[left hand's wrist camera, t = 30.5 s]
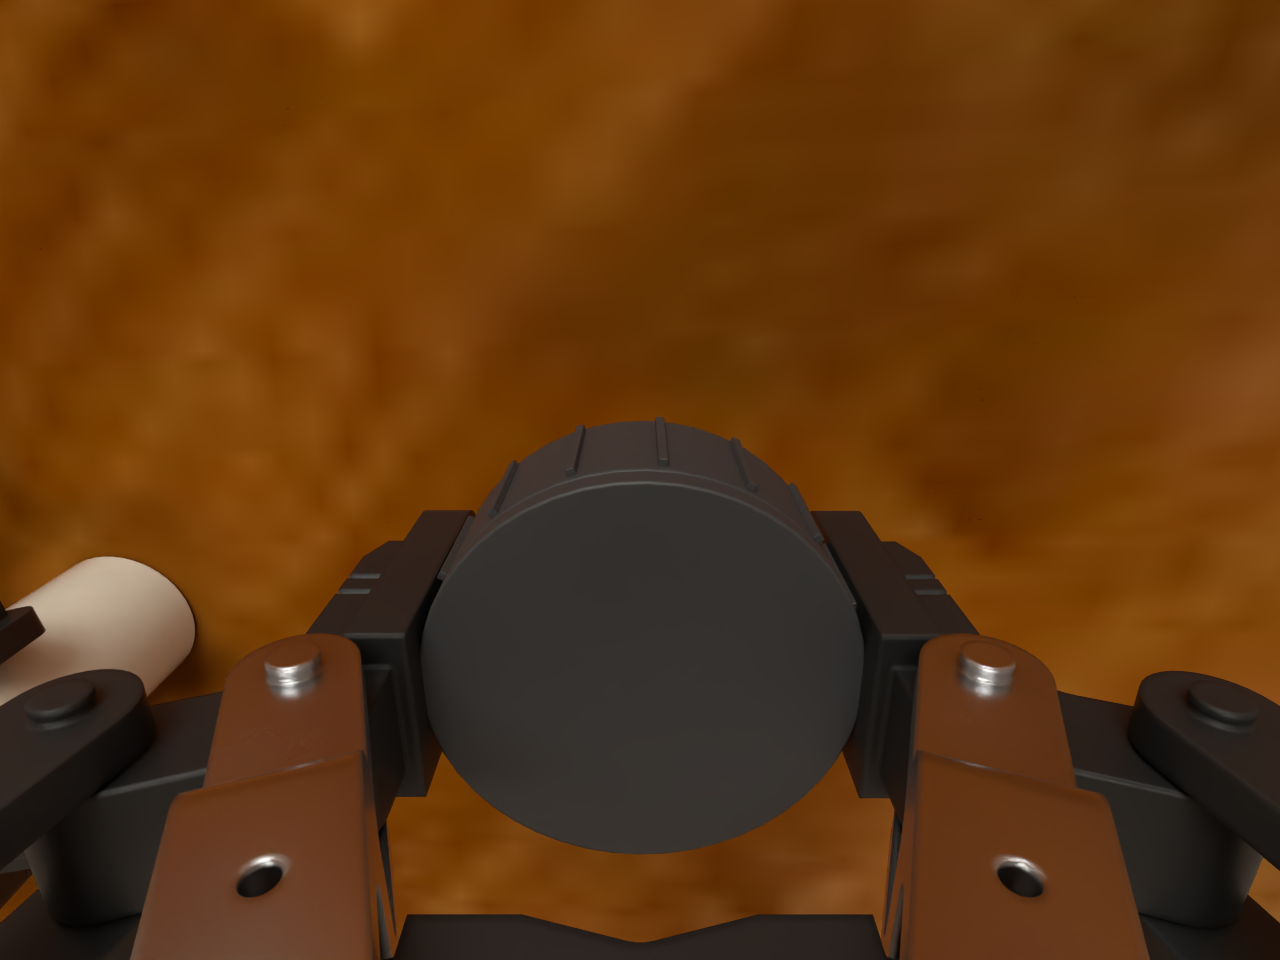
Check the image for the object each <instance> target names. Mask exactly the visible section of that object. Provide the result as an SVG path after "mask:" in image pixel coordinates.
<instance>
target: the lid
mask: <svg viewBox="0 0 1280 960" xmlns="http://www.w3.org/2000/svg"><path fill="white" fill-rule="evenodd" d="M823 540H824V538H823V536H822V534H821V532H820V530H819V528H818V526H817V525H816V523H815V521H814V519H813V517H812V515H811V513H810V511H809V509H808V507H807V505H806V504H805V502H804V500H803V498H802V496H801V494H800V492H799V490H798V488H797V487H796V486H795V484H794V483H791V484H790V485H787V484H786V483H785V482H784V480H783V479H782V478H781V477H780V476H779V475H778V474H777V473H775V472H774V471H773V470H772V469H771V468H770V467H769V466H768V465H767V464H766V463H764V462H763V461H762V460H760V459H759V458H757V457H756V456H754V455H753V454H751V453H750V452H749V451H747V450H746V449H744V448H742V445H741V442H740V440H738V439H736V438H734V437H733V438H732V439H731V441H728V440H726V439H724V438H722V437H720V436H717V435H714V434H712V433H709V432H706V431H703V430H700V429H697V428H693V427H688V426H683V425H678V424H674V423H664V418H663V417H656V419H655V422H652V421H635V422H618V423H612V424H606V425H601V426H595V427H591V428H588V429H585V427H584V425H581V426H577V427H576V430H575V433H572V434H569V435H567V436H565V437H562V438H560V439H558V440H556V441H554V442H551V443H549V444H547V445H545V446H544V447H542V448H541V449H539V450H537V451H536V452H534V453H533V454H531V455H529V456H528V457H526V458H525V459H524V460H523V461H521V462H520V463H519V464H518V463H517V462H516V461H515V460H514V461H513V462H511V463H510V464H509V466H508V468H507V470H506V472H505V474H504V477H503V479H502V480H501V481H500V482H499V483H498V484H497V485H496V486H495V487H494V489H493V490H492V491H491V492H490V494H489V495H488V497H487V498H486V500H485V501H484V503H483V504H482V506H481V507H480V509H479V511H478V513H477V515H476V517H475V518H474V517H472V516H468V518H467V520H466V522H465V524H464V526H463V528H462V530H461V532H460V534H459V536H458V538H457V539H456V541H455V543H454V545H453V547H452V549H451V551H450V553H449V555H448V557H447V559H446V561H445V563H444V564H443V566H442V568H441V570H440V572H439V574H438V576H437V578H438V579H440V580H442V581H443V583H442V585H441V587H440V589H439V591H438V593H437V595H436V597H435V599H434V601H433V603H432V606H431V608H430V610H429V613H428V617H427V620H426V623H425V627H424V630H423V633H422V640H421V648H420V657H421V667H422V675H423V683H424V691H425V699H426V707H427V713H428V720H429V723H430V726H431V729H432V732H433V734H434V735H435V737H436V739H437V741H438V743H439V745H440V747H441V749H442V751H443V753H444V754H445V756H446V757H447V758H448V760H449V761H450V763H451V764H452V766H453V767H454V768H455V770H456V771H457V773H458V774H459V775H460V776H461V777H462V778H463V779H464V780H465V781H466V782H467V783H468V785H469V786H470V787H471V788H472V789H473V790H474V791H475V792H476V793H477V794H479V795H480V796H481V797H482V798H483V799H485V800H486V801H487V802H488V803H489V804H490V805H492V806H493V807H494V808H496V809H497V810H499V811H500V812H502V813H503V814H505V815H506V816H508V817H509V818H511V819H512V820H514V821H516V822H518V823H520V824H522V825H524V826H525V827H527V828H529V829H531V830H533V831H535V832H537V833H540V834H542V835H545V836H548V837H550V838H553V839H556V840H558V841H561V842H564V843H568V844H572V845H575V846H579V847H583V848H587V849H593V850H599V851H605V852H611V853H625V854H662V853H671V852H679V851H686V850H692V849H696V848H701V847H705V846H709V845H713V844H717V843H720V842H723V841H726V840H728V839H731V838H734V837H737V836H740V835H742V834H744V833H746V832H748V831H751V830H753V829H755V828H757V827H759V826H761V825H763V824H765V823H767V822H768V821H770V820H771V819H773V818H775V817H776V816H778V815H780V814H781V813H783V812H785V811H786V810H787V809H788V808H790V807H791V806H792V805H794V804H795V803H796V802H797V801H799V800H800V799H801V798H803V797H804V796H805V795H806V794H807V793H808V792H809V791H810V790H811V789H812V788H813V787H814V786H815V785H816V784H817V783H818V782H819V781H820V780H821V779H822V778H823V777H824V775H825V774H826V773H827V771H828V770H829V769H830V767H831V766H832V765H833V764H834V762H835V761H836V760H837V758H838V756H839V755H840V753H841V751H842V750H843V748H844V746H845V744H846V743H847V741H848V739H849V737H850V735H851V732H852V730H853V727H854V725H855V722H856V718H857V712H858V705H859V697H860V689H861V682H862V674H863V665H864V656H865V650H864V640H863V635H862V631H861V627H860V623H859V619H858V616H857V613H856V607H857V603H856V601H855V599H854V597H853V595H852V593H851V591H850V589H849V587H848V585H847V583H846V582H845V580H844V578H843V576H842V574H841V572H840V570H839V568H838V566H837V564H836V562H835V560H834V558H833V557H832V555H831V553H830V551H829V549H828V547H827V545H826V543H824V544H823V543H822V541H823Z"/></svg>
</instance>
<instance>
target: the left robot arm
mask: <svg viewBox="0 0 1280 960" xmlns="http://www.w3.org/2000/svg"><path fill="white" fill-rule="evenodd" d="M810 513H811V515H812V517H813V519H814V521H815V523H816V525H817V526H818V528H819V530H820V532H821V534H822V536H823V538H824V540H823V541H822V543H823V544H824V543H826V545H827V547H828V549H829V551H830V553H831V555H832V557H833V558H834V560H835V562H836V564H837V566H838V568H839V570H840V572H841V574H842V576H843V578H844V580H845V582H846V583H847V585H848V587H849V589H850V591H851V593H852V595H853V597H854V599H855V601H856V603H857V607H856V613H857V616H858V619H859V623H860V627H861V631H862V635H863V640H864V650H865V656H864V665H863V674H862V682H861V689H860V697H859V705H858V712H857V718H856V722H855V725H854V727H853V730H852V732H851V735H850V737H849V739H848V741H847V743H846V744H845V746H844V748H843V750H842V751H843V754H844V757H845V760H846V762H847V765H848V768H849V771H850V774H851V776H852V779H853V782H854V785H855V787H856V790H857V793H858V796H859V798H890V800H891V802H892V804H893V807H894V809H895V811H894V817H893V823H892V830H891V836H890V845H889V856H888V867H887V878H886V888H885V899H884V910H883V921H882V932H881V939H880V936H879V933H878V929H877V926H876V923H875V920H874V917H873V915H754V916H751V917H747V918H743V919H739V920H735V921H731V922H727V923H723V924H719V925H715V926H711V927H707V928H703V929H699V930H695V931H691V932H687V933H683V934H679V935H675V936H671V937H667V938H663V939H659V940H655V941H651V942H645V943H635V942H629V941H625V940H621V939H617V938H613V937H609V936H605V935H601V934H597V933H593V932H589V931H585V930H581V929H577V928H573V927H569V926H565V925H561V924H557V923H553V922H549V921H545V920H541V919H537V918H533V917H529V916H526V915H407V917H406V920H405V923H404V926H403V929H402V933H401V936H400V939H399V932H398V921H397V910H396V899H395V888H394V878H393V867H392V856H391V845H390V836H389V830H388V823H387V817H388V815H389V812H390V810H391V807H392V805H393V802H394V800H395V797H426V795H427V792H428V790H429V787H430V784H431V781H432V778H433V775H434V772H435V770H436V767H437V764H438V761H439V758H440V755H441V753H442V749H441V747H440V745H439V743H438V741H437V739H436V737H435V735H434V734H433V732H432V729H431V726H430V723H429V720H428V713H427V707H426V699H425V691H424V683H423V675H422V667H421V657H420V648H421V640H422V633H423V630H424V627H425V623H426V620H427V617H428V613H429V610H430V608H431V606H432V603H433V601H434V599H435V597H436V595H437V593H438V591H439V589H440V587H441V585H442V583H443V581H442V580H440V579H438V578H437V576H438V574H439V572H440V570H441V568H442V566H443V564H444V563H445V561H446V559H447V557H448V555H449V553H450V551H451V549H452V547H453V545H454V543H455V541H456V539H457V538H458V536H459V534H460V532H461V530H462V528H463V526H464V524H465V522H466V520H467V518H468V516H472V517H474V518H475V517H476V515H475V513H474V511H472V510H425V511H424V512H423V513H422V514H421V516H420V517H419V519H418V520H417V522H416V523H415V525H414V526H413V527H412V529H411V530H410V532H409V533H408V535H407V536H406V538H405V539H404V541H388V542H387V543H385V544H383V545H382V546H380V547H378V548H377V549H375V550H374V551H372V552H370V553H369V554H367V555H365V556H364V557H363V558H362V559H361V561H360V562H359V563H358V565H357V566H356V567H355V569H354V570H353V571H352V573H351V574H350V578H347V579H346V581H345V582H344V583H343V585H342V586H341V587H340V589H339V593H338V594H335V595H334V597H333V598H332V599H331V601H330V602H329V603H328V605H327V606H326V607H325V609H324V610H323V611H322V613H321V614H320V615H319V617H318V618H317V619H316V621H315V622H314V623H313V625H312V626H311V627H310V629H309V630H308V631H307V633H306V634H304V635H297V636H293V637H288V638H285V639H281V640H278V641H275V642H272V643H270V644H267V645H265V646H263V647H261V648H259V649H257V650H255V651H253V652H252V653H250V654H248V655H247V656H245V657H244V658H243V659H241V660H240V661H239V662H238V663H237V664H236V665H235V666H234V667H233V668H232V669H231V671H230V672H229V674H228V675H227V678H226V680H225V684H224V689H223V691H221V692H217V693H213V694H208V695H203V696H198V697H193V698H188V699H182V700H177V701H172V702H167V703H162V704H156V705H151V706H150V705H149V701H148V698H147V694H146V691H145V688H144V684H143V682H142V680H141V678H139V677H138V676H137V675H136V674H134V673H132V672H129V671H125V670H118V669H98V670H89V671H84V672H79V673H74V674H70V675H67V676H63V677H60V678H57V679H54V680H51V681H48V682H45V683H43V684H40V685H38V686H35V687H33V688H31V689H29V690H27V691H25V692H23V693H21V694H19V695H18V696H16V697H14V698H12V699H11V700H9V701H7V702H6V703H4V704H3V705H1V706H0V871H1V870H2V869H3V868H4V867H6V866H7V865H8V864H9V863H10V862H12V861H13V860H14V859H15V858H16V857H18V856H19V855H20V854H21V853H22V852H24V853H25V855H26V858H27V860H28V863H29V865H30V868H31V870H32V873H33V876H34V878H35V881H36V883H37V886H38V888H39V889H38V890H37V891H36V892H35V893H33V894H32V895H31V896H30V897H29V898H28V899H27V900H26V901H25V902H23V903H22V904H21V905H20V906H19V907H18V908H17V909H16V910H14V911H13V912H12V913H11V914H10V915H9V916H8V917H7V918H6V919H4V920H3V921H2V922H1V923H0V960H1280V923H1279V922H1278V921H1277V920H1276V919H1275V918H1273V917H1272V916H1271V915H1270V914H1269V913H1268V912H1267V911H1266V910H1264V909H1263V908H1262V907H1261V906H1260V905H1259V904H1258V903H1257V902H1256V901H1254V900H1253V899H1252V898H1251V897H1250V896H1249V895H1248V893H1249V890H1250V888H1251V885H1252V883H1253V880H1254V878H1255V875H1256V873H1257V870H1258V868H1259V865H1260V863H1261V860H1262V858H1263V857H1264V858H1265V859H1266V860H1267V861H1268V862H1270V863H1271V864H1272V865H1273V866H1274V867H1276V868H1277V869H1278V870H1279V871H1280V706H1279V705H1277V704H1276V703H1274V702H1272V701H1271V700H1269V699H1267V698H1265V697H1264V696H1262V695H1260V694H1258V693H1256V692H1254V691H1252V690H1250V689H1248V688H1245V687H1243V686H1240V685H1238V684H1235V683H1232V682H1229V681H1226V680H1223V679H1220V678H1216V677H1213V676H1209V675H1204V674H1199V673H1193V672H1185V671H1165V672H1158V673H1154V674H1151V675H1149V676H1147V677H1146V678H1145V679H1144V680H1142V682H1141V684H1140V686H1139V690H1138V693H1137V696H1136V700H1135V703H1134V706H1129V705H1123V704H1118V703H1113V702H1108V701H1103V700H1097V699H1092V698H1087V697H1082V696H1077V695H1073V694H1068V693H1064V692H1061V691H1057V689H1056V684H1055V680H1054V678H1053V675H1052V674H1051V672H1050V671H1049V669H1048V668H1047V667H1046V666H1045V665H1044V664H1043V663H1042V662H1041V661H1040V660H1039V659H1037V658H1036V657H1035V656H1033V655H1032V654H1030V653H1028V652H1027V651H1025V650H1023V649H1021V648H1019V647H1017V646H1015V645H1013V644H1010V643H1008V642H1005V641H1002V640H999V639H995V638H992V637H987V636H983V635H980V634H979V633H978V632H977V630H976V629H975V628H974V626H973V625H972V624H971V622H970V621H969V620H968V618H967V617H966V616H965V615H964V613H963V612H962V611H961V609H960V608H959V607H958V605H957V604H956V603H955V601H954V600H953V599H952V597H951V596H950V595H947V594H946V590H945V588H944V587H943V586H942V584H941V583H940V582H939V580H938V579H935V575H934V574H933V573H932V571H931V570H930V569H929V567H928V566H927V565H926V563H925V562H924V561H923V559H922V558H921V557H920V556H918V555H916V554H915V553H913V552H911V551H910V550H908V549H907V548H905V547H903V546H902V545H900V544H898V543H897V542H881V541H880V539H879V538H878V536H877V535H876V533H875V532H874V530H873V529H872V527H871V526H870V525H869V523H868V522H867V520H866V519H865V517H864V516H863V514H862V513H861V512H860V511H811V512H810Z"/></svg>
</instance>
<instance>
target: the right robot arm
mask: <svg viewBox="0 0 1280 960" xmlns="http://www.w3.org/2000/svg"><path fill="white" fill-rule="evenodd" d="M45 631H46V629H45V628H44V626H43V624H42V622H41V621H40V619H39V617H38V615H37V614H36V612H35V610H34V608H33V607H32V606H25V607H20V608H15V609H10V610H5V609H4V607H3V605H2V603H1V602H0V665H1V664H2V663H4V662H5V661H6V660H8V659H9V658H11V657H12V656H13V655H15V654H16V653H17V652H19V651H20V650H22V649H23V648H24V647H26V646H27V645H29V644H30V643H31V642H33V641H34V640H36V639H37V638H38V637H40V636H41V635H42V634H43V633H44V632H45ZM32 874H33V873H32V870H31V868H30V865H29V863H28V860H27V858H26V855H25V853H24V852H22V853H21V854H20V855H19V856H18V857H16V858H15V859H14V860H13V861H12V862H10V863H9V864H8V865H7V866H6V867H4V868H3V869H2V870H1V871H0V909H1V908H2V907H3V906H4V904H5V903H6V902H7V901H8V900H9V899H10V898H11V897H12V896H13V895H14V894H15V892H16V891H17V890H18V889H19V888H20V887H21V886H22V885H23V884H24V882H25V881H26V880H27V879H28V878H29V877H30V876H31V875H32Z"/></svg>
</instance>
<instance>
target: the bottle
mask: <svg viewBox="0 0 1280 960" xmlns="http://www.w3.org/2000/svg"><path fill="white" fill-rule="evenodd" d="M25 606H32V607H33V608H34V610H35V612H36V614H37V615H38V617H39V619H40V621H41V622H42V624H43V626H44V628H45V629H46V631H45V632H44V633H43V634H42V635H41V636H40V637H38V638H37V639H36V640H34V641H33V642H31V643H30V644H29V645H27V646H26V647H24V648H23V649H22V650H20V651H19V652H17V653H16V654H15V655H13V656H12V657H11V658H9V659H8V660H6V661H5V662H4V663H2V664H1V665H0V706H1V705H3V704H4V703H6V702H7V701H9V700H11V699H12V698H14V697H16V696H18V695H19V694H21V693H23V692H25V691H27V690H29V689H31V688H33V687H35V686H38V685H40V684H43V683H45V682H48V681H51V680H54V679H57V678H60V677H63V676H67V675H70V674H74V673H79V672H84V671H89V670H98V669H118V670H125V671H129V672H132V673H134V674H136V675H137V676H138V677H139V678H141V680H142V682H143V684H144V688H145V691H146V694H147V697H148V696H149V695H150V694H151V693H152V692H153V691H154V690H155V689H156V688H157V687H158V686H159V685H160V684H161V683H162V682H163V681H164V680H165V679H166V678H167V677H168V676H169V675H170V674H171V673H172V672H173V671H174V670H175V669H176V668H177V667H178V666H179V665H180V664H181V663H182V662H183V661H184V660H185V659H186V657H187V656H188V654H189V653H190V651H191V649H192V646H193V642H194V638H195V623H194V618H193V614H192V612H191V609H190V607H189V605H188V603H187V601H186V599H185V598H184V596H183V595H182V594H181V592H180V591H179V590H178V589H177V588H176V587H175V585H174V584H173V583H171V582H170V581H169V580H168V579H167V578H166V577H164V576H163V575H162V574H160V573H159V572H157V571H156V570H154V569H152V568H151V567H148V566H146V565H144V564H142V563H139V562H136V561H133V560H130V559H125V558H120V557H97V558H92V559H88V560H85V561H82V562H80V563H78V564H76V565H74V566H73V567H71V568H69V569H68V570H66V571H65V572H63V573H62V574H60V575H58V576H57V577H55V578H54V579H52V580H51V581H49V582H47V583H46V584H44V585H43V586H41V587H40V588H38V589H36V590H35V591H33V592H32V593H30V594H29V595H27V596H25V597H24V598H22V599H21V600H19V601H18V602H16V603H14V604H13V605H11V606H10V607H8V608H7V609H5V610H10V609H15V608H20V607H25Z"/></svg>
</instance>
